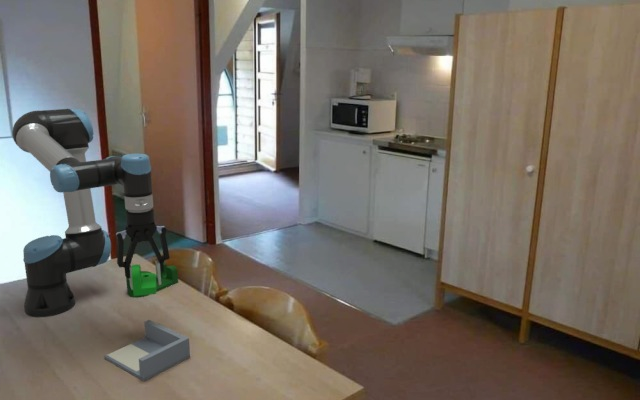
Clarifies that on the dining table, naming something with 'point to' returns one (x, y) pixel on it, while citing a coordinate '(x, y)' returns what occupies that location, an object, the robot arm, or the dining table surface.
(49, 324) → the dining table surface
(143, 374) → the corner arena
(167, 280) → the slotted cylinder bracket
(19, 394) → the dining table surface
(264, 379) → the dining table surface
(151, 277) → the mechanical part
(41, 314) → the robot arm
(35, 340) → the dining table surface
